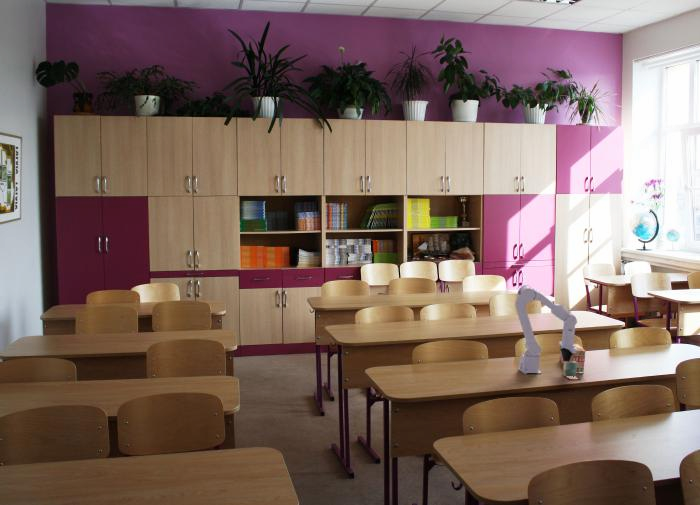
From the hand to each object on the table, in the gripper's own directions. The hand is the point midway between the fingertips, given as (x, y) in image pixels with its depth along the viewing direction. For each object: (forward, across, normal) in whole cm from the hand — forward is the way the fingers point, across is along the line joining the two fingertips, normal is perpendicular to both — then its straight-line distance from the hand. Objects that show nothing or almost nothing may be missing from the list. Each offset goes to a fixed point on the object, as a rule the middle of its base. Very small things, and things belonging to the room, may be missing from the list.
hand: (566, 363), depth 356 cm
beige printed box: (+6, +10, -8) cm, 15 cm away
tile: (+5, -4, 0) cm, 7 cm away
